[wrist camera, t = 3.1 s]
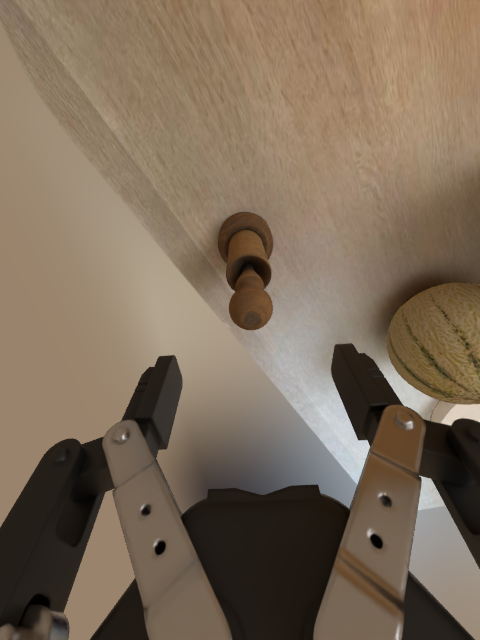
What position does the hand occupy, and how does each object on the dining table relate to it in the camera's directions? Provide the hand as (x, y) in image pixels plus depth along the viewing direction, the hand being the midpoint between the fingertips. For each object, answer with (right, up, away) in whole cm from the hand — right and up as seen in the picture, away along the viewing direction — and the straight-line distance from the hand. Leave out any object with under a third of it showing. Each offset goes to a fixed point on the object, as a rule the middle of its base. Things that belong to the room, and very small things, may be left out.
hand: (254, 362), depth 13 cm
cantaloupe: (+26, +3, +24) cm, 36 cm away
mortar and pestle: (0, +12, +18) cm, 22 cm away
